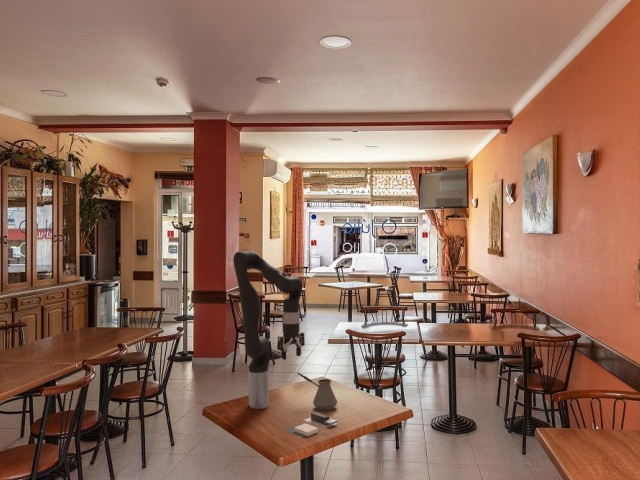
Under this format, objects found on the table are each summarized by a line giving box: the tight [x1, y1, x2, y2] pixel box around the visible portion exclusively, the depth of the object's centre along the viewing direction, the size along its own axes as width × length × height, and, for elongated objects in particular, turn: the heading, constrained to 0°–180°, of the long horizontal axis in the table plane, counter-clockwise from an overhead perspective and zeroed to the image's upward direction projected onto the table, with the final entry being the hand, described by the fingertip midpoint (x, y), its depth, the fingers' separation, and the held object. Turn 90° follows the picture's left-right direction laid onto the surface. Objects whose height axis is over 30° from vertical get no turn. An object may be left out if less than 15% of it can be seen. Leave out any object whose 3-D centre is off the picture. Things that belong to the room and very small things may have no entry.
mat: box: [283, 423, 321, 438], centre depth 216 cm, size 12×10×1 cm
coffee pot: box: [295, 372, 338, 411], centre depth 247 cm, size 21×12×15 cm, turn 59°
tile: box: [294, 423, 319, 437], centre depth 214 cm, size 2×6×8 cm
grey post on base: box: [310, 411, 338, 425], centre depth 224 cm, size 13×4×3 cm, turn 44°
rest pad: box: [304, 416, 338, 429], centre depth 225 cm, size 14×7×1 cm, turn 44°
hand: (291, 357), depth 232 cm, fingers open, 8 cm apart
